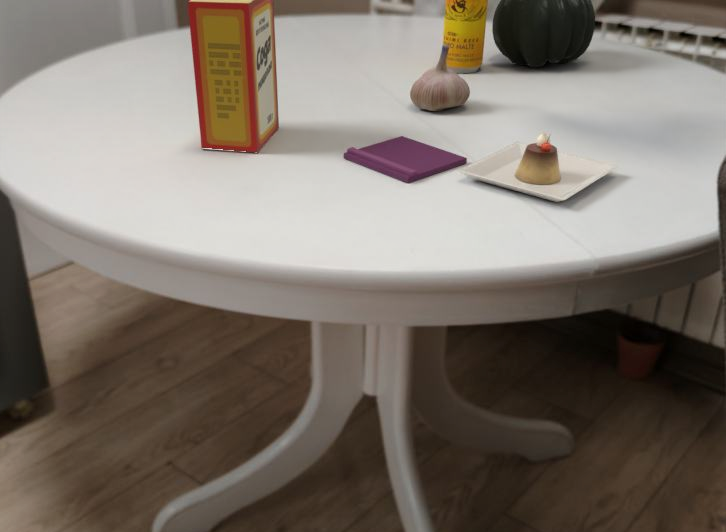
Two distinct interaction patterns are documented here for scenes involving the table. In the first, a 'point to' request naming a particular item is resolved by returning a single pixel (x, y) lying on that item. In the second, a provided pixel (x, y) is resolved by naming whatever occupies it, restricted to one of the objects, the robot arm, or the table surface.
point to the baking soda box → (234, 72)
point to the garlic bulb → (440, 87)
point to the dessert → (538, 170)
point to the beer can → (465, 34)
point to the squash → (543, 30)
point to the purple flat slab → (404, 158)
